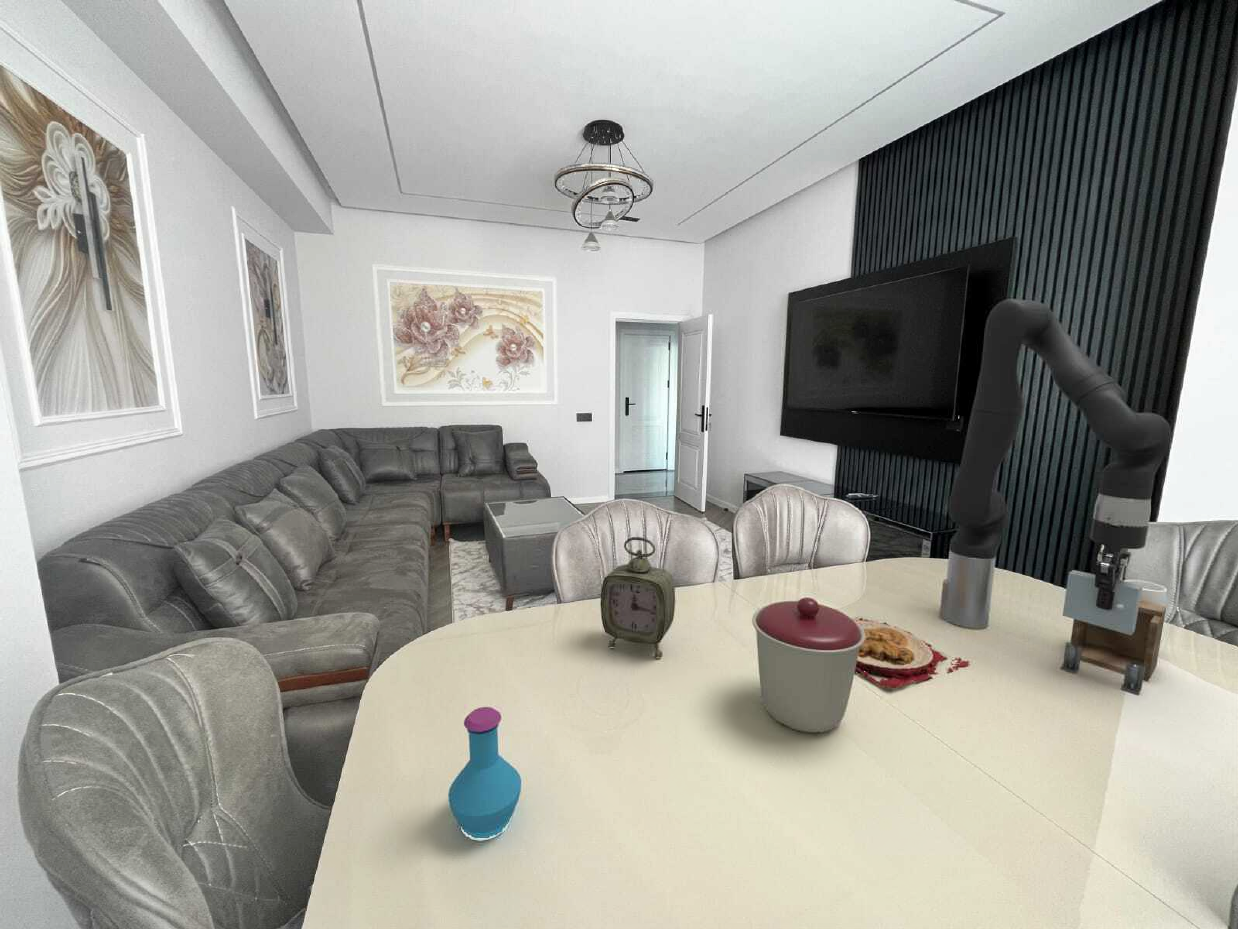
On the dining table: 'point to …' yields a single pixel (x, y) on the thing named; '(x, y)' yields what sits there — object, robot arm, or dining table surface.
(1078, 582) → the door
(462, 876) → the dining table surface
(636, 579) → the tabletop clock
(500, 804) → the perfume bottle
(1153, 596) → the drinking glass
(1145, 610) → the cabinet
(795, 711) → the canister
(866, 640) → the plate with food
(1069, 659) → the hinge clips
